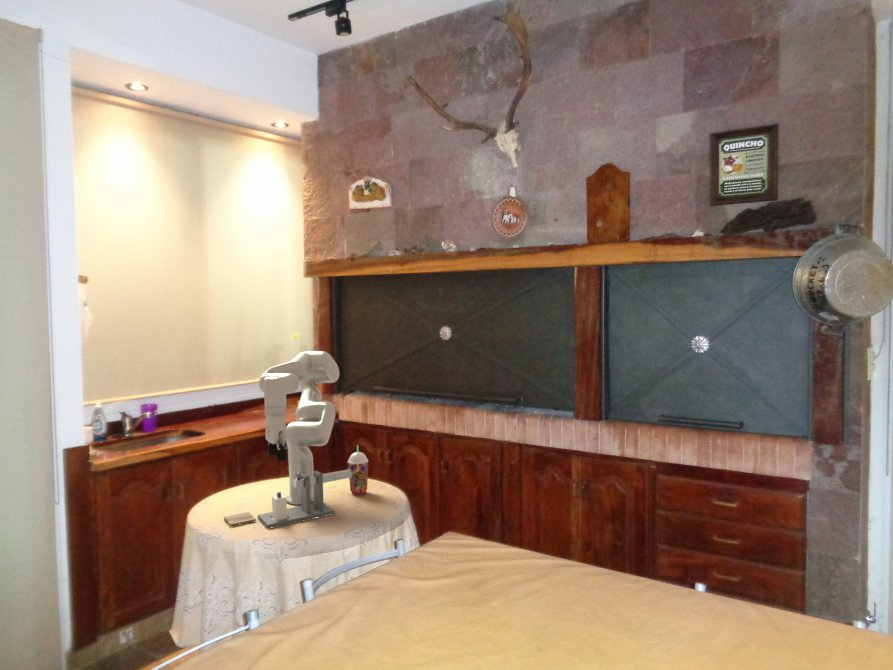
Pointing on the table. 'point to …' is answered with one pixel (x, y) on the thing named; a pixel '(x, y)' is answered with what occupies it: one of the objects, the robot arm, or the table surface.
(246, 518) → the pad
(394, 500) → the table surface
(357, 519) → the table surface
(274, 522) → the socket block
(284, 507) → the plug
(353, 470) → the smoothie
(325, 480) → the bolt
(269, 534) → the table surface
